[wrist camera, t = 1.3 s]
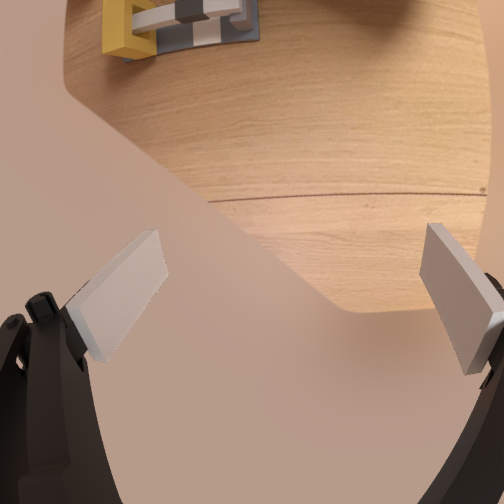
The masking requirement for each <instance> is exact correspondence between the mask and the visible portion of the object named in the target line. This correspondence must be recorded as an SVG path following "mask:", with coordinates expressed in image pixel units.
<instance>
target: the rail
mask: <svg viewBox="0 0 504 504" xmlns="http://www.w3.org/2000/svg"><path fill="white" fill-rule="evenodd" d="M154 29H156V47H157V55H159V54H163V53H168V52H173V51H178V50H183V49H189V48H195V47H201V46H208V45H215V44H223V43H232V42H243V41H256V40H260V35H259V16H258V0H178V1H175V3H172V4H168V5H164V6H160V7H156V8H153V9H149V10H146V11H142V12H139V13H136V14H133V15H132V35H136V34H139V33H143V32H146V31H150V30H154ZM134 60H136V59H130V58H125V57H123V62H125V63H127V62H130V61H134Z"/></svg>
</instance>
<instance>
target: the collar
mask: <svg viewBox="0 0 504 504" xmlns="http://www.w3.org/2000/svg"><path fill="white" fill-rule="evenodd" d="M153 8H156V4H155V3H153V2H151V1H150V0H103V14H102V54H106V55H113V56H119V57H125V58H130V59H136V60H138V59H142V58H146V57H150V56H154V55H157V47H156V29H154V30H150V31H146V32H143V33H139V34H136V35H132V15H133V14H136V13H139V12H142V11H146V10H149V9H153Z"/></svg>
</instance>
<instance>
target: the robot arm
mask: <svg viewBox="0 0 504 504" xmlns="http://www.w3.org/2000/svg"><path fill="white" fill-rule="evenodd" d="M419 275H420V277H421V279H422V280H423V282H424V284H425V286H426V288H427V290H428V292H429V294H430V296H431V298H432V300H433V302H434V305H435V307H436V309H437V311H438V313H439V315H440V317H441V319H442V321H443V324H444V326H445V328H446V331H447V333H448V335H449V337H450V340H451V342H452V345H453V347H454V350H455V352H456V355H457V357H458V360H459V362H460V364H461V367H462V370H463V373H464V375H470V374H475V373H480V372H482V370H483V368H484V366H485V365H486V363H487V361H489V364H490V366H491V370H490V372H489V373H488V375H487V377H486V379H485V380H484V382H483V383H482V385H481V387H480V388H479V389H481V393H480V396H479V398H478V400H477V402H476V404H475V407H474V409H473V411H472V413H471V415H470V418H469V419H468V422H467V424H466V426H465V428H464V430H463V432H462V433H461V435H460V437H459V439H458V441H457V443H456V445H455V446H454V448H453V450H452V452H451V454H450V455H449V457H448V459H447V460H446V462H445V464H444V465H443V467H442V468H441V470H440V472H439V473H438V475H437V476H436V478H435V479H434V481H433V482H432V484H431V485H430V487H429V488H428V490H427V491H426V493H425V494H424V495H423V497H422V498H421V499H420V501H419V502H418V504H497V503H498V502H499V499H500V497H501V495H502V493H503V491H504V289H502V286H501V285H500V284H499V282H498V281H497V280H496V279H495V278H493V277H492V276H491V275H489V274H488V273H483V272H482V270H481V269H480V268H479V267H478V265H477V264H476V263H475V262H474V260H473V259H472V258H471V257H470V255H469V254H468V253H467V252H466V251H465V249H464V248H463V247H462V246H461V245H460V244H459V242H458V241H457V240H456V239H455V238H454V237H453V236H452V235H451V233H450V232H449V231H448V230H447V229H446V228H445V227H444V226H443V225H442V224H441V223H427V231H426V238H425V245H424V251H423V257H422V263H421V268H420V274H419ZM168 276H169V275H168V271H167V267H166V263H165V259H164V256H163V252H162V248H161V243H160V240H159V235H158V231H157V229H147V230H143V231H142V232H141V233H140V234H139V235H138V236H137V237H136V238H135V239H133V240H132V241H131V242H130V243H129V244H128V245H127V246H126V247H125V248H124V249H122V250H121V251H120V252H119V253H118V254H117V255H116V256H115V257H114V258H113V259H112V260H111V261H110V262H109V263H108V264H107V265H105V266H104V267H103V268H102V269H101V270H100V271H99V272H98V273H97V274H96V275H95V276H94V277H93V278H92V279H91V280H89V281H88V282H87V283H86V284H85V285H84V286H83V287H82V289H80V290H79V291H78V292H77V294H75V295H74V296H73V297H72V298H71V299H70V300H69V301H68V302H67V303H66V304H65V305H64V306H63V307H62V308H61V309H60V310H59V308H58V306H57V304H56V302H55V300H54V297H53V295H52V293H50V292H42V293H39V294H37V295H35V296H33V297H32V298H31V299H29V301H28V302H27V303H26V305H25V308H26V309H27V311H28V313H29V315H30V317H31V319H32V321H33V323H27V322H26V320H25V318H24V316H23V315H22V314H15V315H11V317H8V318H7V320H5V321H4V323H3V324H2V326H1V327H0V504H123V503H122V502H121V499H120V497H119V494H118V491H117V488H116V485H115V482H114V479H113V476H112V473H111V470H110V467H109V463H108V460H107V457H106V453H105V450H104V446H103V442H102V438H101V434H100V430H99V426H98V421H97V417H96V412H95V407H94V402H93V397H92V391H91V385H90V380H89V373H88V366H87V361H86V359H85V357H84V354H85V352H86V351H87V350H88V351H89V353H90V355H91V356H92V358H93V360H96V361H100V362H104V363H108V362H109V360H110V359H111V357H112V356H113V354H114V353H115V351H116V350H117V348H118V347H119V345H120V344H121V342H122V341H123V340H124V338H125V337H126V335H127V334H128V332H129V331H130V329H131V328H132V327H133V325H134V324H135V322H136V321H137V319H138V318H139V317H140V315H141V314H142V312H143V311H144V309H145V308H146V307H147V305H148V304H149V302H150V301H151V300H152V298H153V297H154V295H155V294H156V293H157V291H158V290H159V288H160V287H161V286H162V284H163V283H164V282H165V280H166V279H167V277H168ZM17 357H18V358H19V360H20V361H21V363H22V364H23V367H22V369H20V368H19V367H18V365H17V363H16V358H17Z"/></svg>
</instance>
